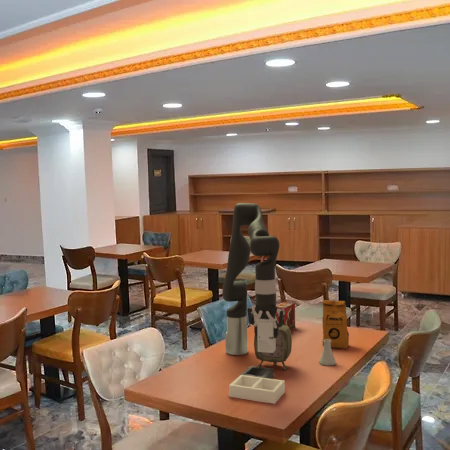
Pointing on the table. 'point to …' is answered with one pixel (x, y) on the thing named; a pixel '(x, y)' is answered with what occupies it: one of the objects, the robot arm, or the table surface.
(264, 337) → the skincare box
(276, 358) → the tabletop clock
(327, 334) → the coffee package
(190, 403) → the table surface
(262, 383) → the cream divided tray
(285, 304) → the ice cream box
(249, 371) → the socket block
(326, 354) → the flask
